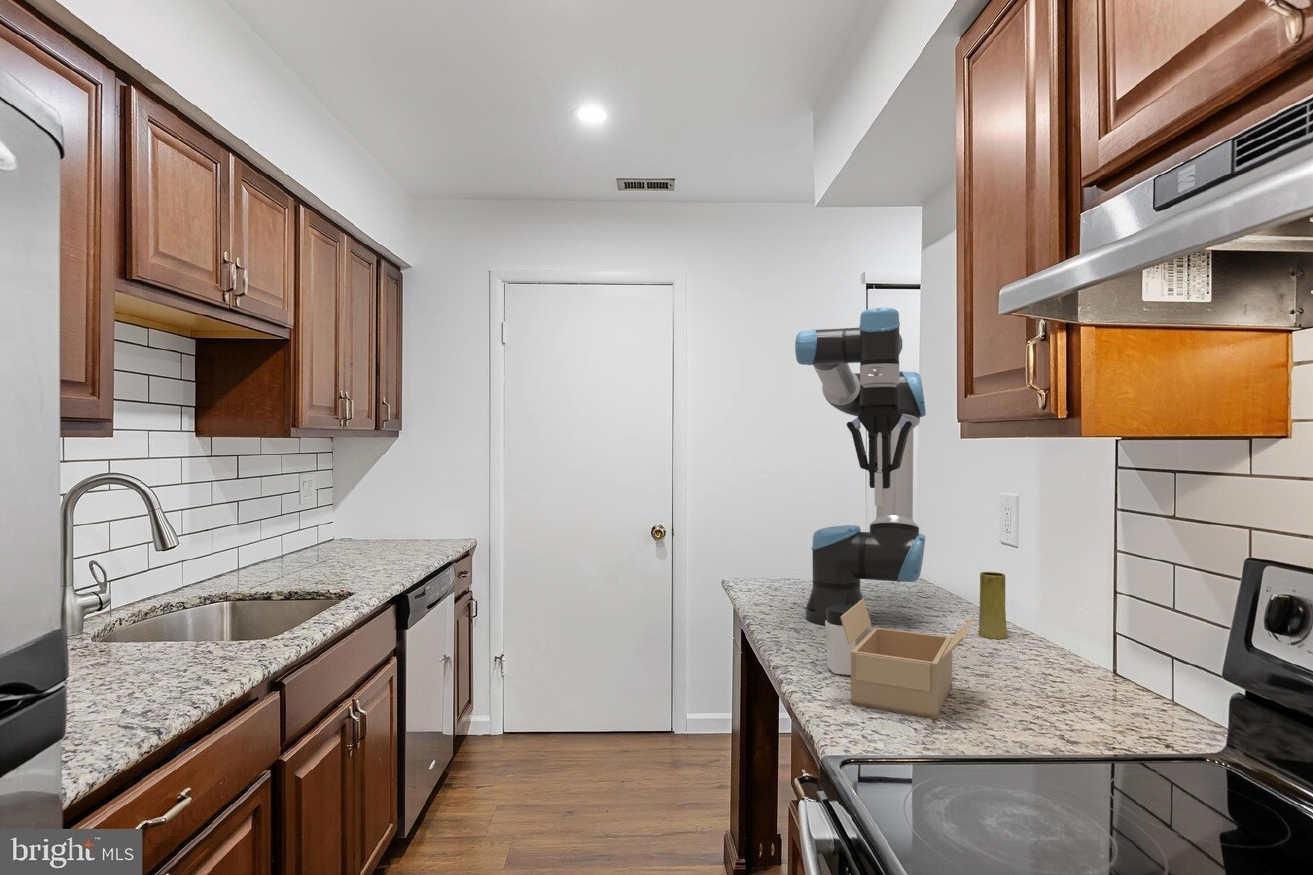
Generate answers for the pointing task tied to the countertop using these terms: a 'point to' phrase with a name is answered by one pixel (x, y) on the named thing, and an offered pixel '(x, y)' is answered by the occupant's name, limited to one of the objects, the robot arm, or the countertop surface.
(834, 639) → the jar
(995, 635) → the vase
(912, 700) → the carton
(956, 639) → the flap
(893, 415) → the robot arm
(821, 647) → the countertop surface
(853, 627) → the flap
